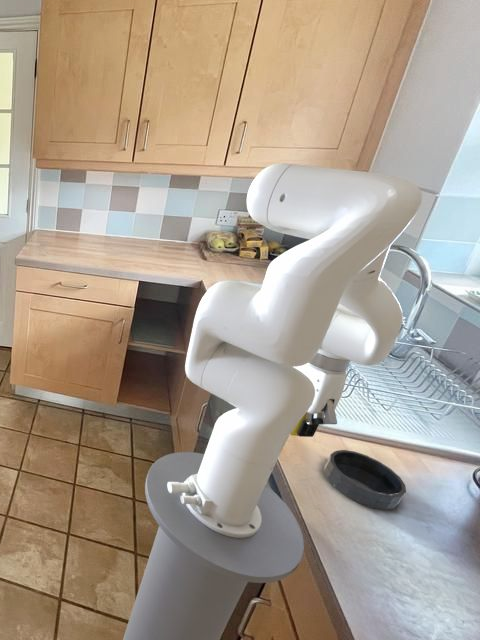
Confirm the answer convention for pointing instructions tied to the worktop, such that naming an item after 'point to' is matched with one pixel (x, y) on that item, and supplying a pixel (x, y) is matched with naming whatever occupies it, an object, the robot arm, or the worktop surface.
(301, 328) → the robot arm
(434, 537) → the worktop surface
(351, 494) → the pan
